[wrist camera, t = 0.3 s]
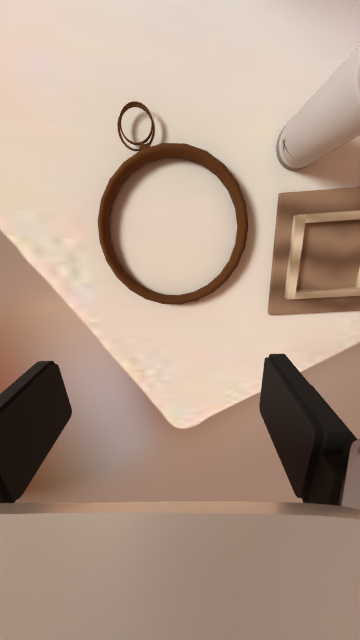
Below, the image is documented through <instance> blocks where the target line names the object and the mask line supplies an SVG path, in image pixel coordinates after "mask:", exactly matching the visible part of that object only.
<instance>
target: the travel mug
mask: <svg viewBox="0 0 360 640" xmlns="http://www.w3.org/2000/svg"><path fill="white" fill-rule="evenodd" d="M359 135H360V45H359V46H358V47H357V48H356V49H355V51H354V52H353V53H352V54H351V55H350V56H349V57H348V58H347V59H346V60H345V62H344V63H343V64H342V65H341V66H340V67H339V68H338V69H337V70H336V71H335V72H334V74H333V75H332V76H331V77H330V78H329V79H328V80H327V81H326V82H325V83H324V84H323V86H322V87H321V88H320V89H319V90H318V91H317V92H316V93H315V94H314V95H313V97H312V98H311V99H310V100H309V101H308V102H307V103H306V104H305V105H304V106H303V107H302V109H301V110H300V111H299V112H298V113H297V114H296V115H295V116H294V117H293V118H292V119H291V121H290V122H289V123H288V124H287V125H286V126H285V127H284V129H283V130H282V131H281V133H280V135H279V138H278V141H277V146H276V152H277V157H278V159H279V161H280V163H281V164H282V165H283V166H284V167H285V168H287V169H290V170H298V169H301V168H304V167H305V166H307V165H309V164H311V163H312V162H314V161H316V160H318V159H319V158H321V157H323V156H324V155H326V154H328V153H330V152H331V151H333V150H335V149H337V148H338V147H340V146H342V145H344V144H345V143H347V142H349V141H350V140H352V139H354V138H356V137H357V136H359Z"/></svg>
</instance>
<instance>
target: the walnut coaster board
mask: <svg viewBox="0 0 360 640" xmlns="http://www.w3.org/2000/svg"><path fill="white" fill-rule="evenodd" d="M358 310H360V187H356V188H343V189H329V190H315V191H302V192H288V193H280V194H279V197H278V208H277V218H276V229H275V240H274V251H273V262H272V273H271V284H270V295H269V305H268V314H269V315H279V314H299V313H319V312H338V311H358Z"/></svg>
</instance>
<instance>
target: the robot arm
mask: <svg viewBox="0 0 360 640" xmlns="http://www.w3.org/2000/svg"><path fill="white" fill-rule="evenodd" d="M260 413H261V415H262V418H263V420H264V422H265V425H266V427H267V429H268V432H269V434H270V436H271V439H272V441H273V443H274V446H275V448H276V451H277V453H278V455H279V458H280V460H281V462H282V465H283V467H284V469H285V472H286V474H287V476H288V479H289V481H290V484H291V486H292V488H293V491H294V493H295V495H296V496H297V497H298V498H302V500H303V503H284V502H74V503H73V502H70V503H69V502H65V503H14V502H15V501H16V500H17V499H19V498H20V497H21V496H22V494H23V493H24V491H25V490H26V488H27V487H28V485H29V483H30V482H31V480H32V478H33V477H34V475H35V474H36V472H37V470H38V469H39V467H40V465H41V464H42V462H43V461H44V459H45V458H46V456H47V454H48V453H49V451H50V450H51V448H52V446H53V444H54V443H55V442H56V440H57V438H58V437H59V435H60V433H61V432H62V430H63V429H64V427H65V425H66V424H67V422H68V421H69V419H70V417H71V414H72V409H71V405H70V402H69V399H68V396H67V392H66V389H65V386H64V382H63V379H62V376H61V373H60V369H59V367H58V365H57V364H55V363H54V362H53V361H39V362H37V363H36V364H34V365H33V366H32V367H31V368H30V369H29V370H28V371H26V372H25V373H24V374H23V375H22V376H21V377H20V378H18V379H17V380H16V381H15V382H14V383H13V384H11V385H10V386H9V387H8V388H7V389H6V390H5V391H3V392H2V393H1V394H0V640H360V439H357V438H356V437H355V436H354V435H353V434H352V432H351V431H350V430H349V429H348V428H347V426H346V425H345V424H344V423H343V422H342V420H341V419H340V418H339V417H338V416H337V415H336V413H335V412H334V411H333V410H332V409H331V408H330V406H329V405H328V404H327V403H326V401H325V400H324V399H323V398H322V397H321V396H320V394H319V393H318V392H317V391H316V390H315V388H314V387H313V386H312V385H310V384H309V383H308V381H307V380H306V379H305V378H304V377H303V375H302V374H301V373H300V372H299V371H298V369H297V368H296V367H295V366H294V365H293V363H292V362H291V361H290V360H289V359H288V357H287V356H286V355H285V354H270V355H269V358H265V362H264V370H263V379H262V388H261V396H260Z"/></svg>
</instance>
